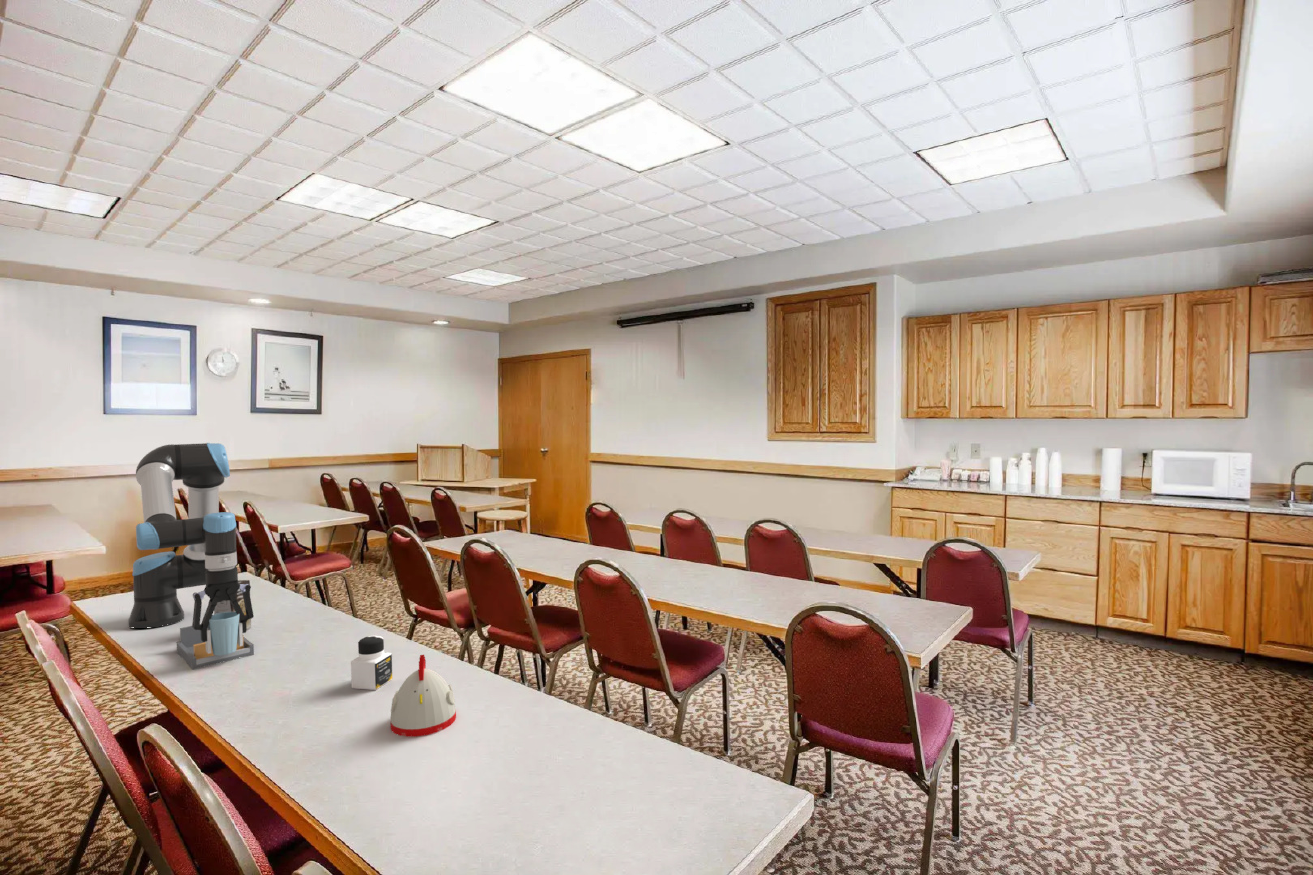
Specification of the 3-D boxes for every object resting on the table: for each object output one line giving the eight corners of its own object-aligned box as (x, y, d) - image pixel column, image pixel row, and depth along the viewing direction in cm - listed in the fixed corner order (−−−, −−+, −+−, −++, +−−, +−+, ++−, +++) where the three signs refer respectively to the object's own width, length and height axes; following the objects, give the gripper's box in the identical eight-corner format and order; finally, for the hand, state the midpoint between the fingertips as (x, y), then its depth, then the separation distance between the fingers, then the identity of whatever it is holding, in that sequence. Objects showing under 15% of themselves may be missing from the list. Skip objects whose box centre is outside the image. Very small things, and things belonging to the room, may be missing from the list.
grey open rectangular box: (176, 652, 195) (175, 629, 194) (235, 639, 205) (234, 617, 205) (192, 669, 181) (191, 644, 180) (253, 654, 192) (252, 630, 191)
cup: (241, 645, 190) (240, 609, 190) (240, 653, 184) (238, 617, 183) (210, 650, 187) (208, 614, 186) (207, 659, 180) (205, 621, 180)
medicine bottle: (376, 690, 164) (374, 643, 164) (351, 688, 166) (349, 642, 165) (393, 679, 171) (391, 634, 171) (368, 677, 173) (367, 632, 172)
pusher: (190, 654, 189) (189, 640, 189) (237, 643, 198) (237, 630, 198) (195, 660, 185) (194, 646, 184) (243, 648, 193) (243, 635, 193)
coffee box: (234, 637, 207) (232, 586, 207) (214, 637, 208) (212, 587, 207) (252, 628, 216) (250, 579, 216) (233, 628, 217) (231, 579, 216)
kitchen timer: (386, 741, 139) (384, 671, 138) (394, 712, 152) (392, 649, 151) (455, 731, 142) (453, 663, 142) (456, 704, 156) (455, 642, 155)
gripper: (181, 576, 174) (185, 661, 175) (265, 563, 189) (268, 642, 190) (175, 572, 180) (179, 654, 181) (257, 560, 194) (260, 636, 195)
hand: (224, 648), depth 185 cm, fingers closed on cup, 7 cm apart
